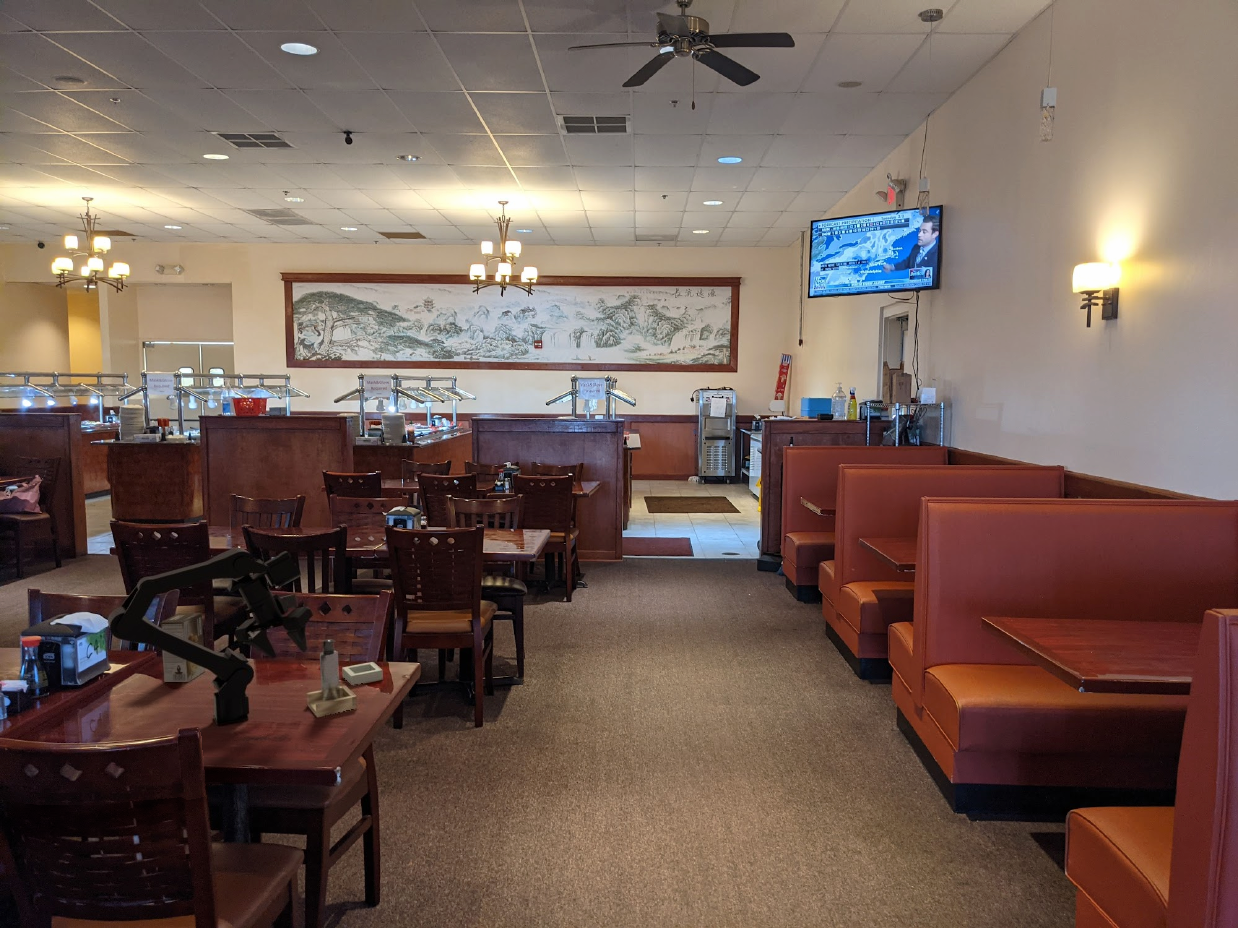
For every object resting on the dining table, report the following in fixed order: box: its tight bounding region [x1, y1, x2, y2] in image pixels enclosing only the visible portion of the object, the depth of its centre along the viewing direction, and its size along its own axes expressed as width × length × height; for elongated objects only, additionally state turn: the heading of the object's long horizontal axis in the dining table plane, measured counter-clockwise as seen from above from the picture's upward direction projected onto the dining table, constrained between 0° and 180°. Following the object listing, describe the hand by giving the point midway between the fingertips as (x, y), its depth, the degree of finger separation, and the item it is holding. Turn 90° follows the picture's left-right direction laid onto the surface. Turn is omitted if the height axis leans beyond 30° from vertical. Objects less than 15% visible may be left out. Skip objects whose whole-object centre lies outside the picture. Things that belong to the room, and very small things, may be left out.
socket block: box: [341, 661, 384, 686], centre depth 219 cm, size 8×8×2 cm
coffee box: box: [160, 612, 206, 683], centre depth 221 cm, size 9×6×16 cm
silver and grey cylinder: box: [319, 638, 341, 702], centre depth 199 cm, size 4×4×15 cm
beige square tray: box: [306, 685, 358, 718], centre depth 199 cm, size 9×9×3 cm
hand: (289, 654), depth 199 cm, fingers open, 9 cm apart
